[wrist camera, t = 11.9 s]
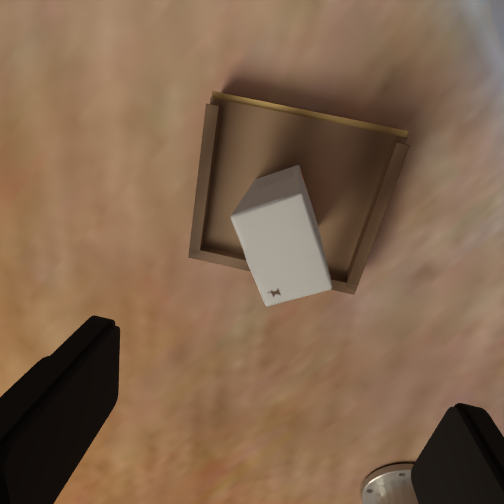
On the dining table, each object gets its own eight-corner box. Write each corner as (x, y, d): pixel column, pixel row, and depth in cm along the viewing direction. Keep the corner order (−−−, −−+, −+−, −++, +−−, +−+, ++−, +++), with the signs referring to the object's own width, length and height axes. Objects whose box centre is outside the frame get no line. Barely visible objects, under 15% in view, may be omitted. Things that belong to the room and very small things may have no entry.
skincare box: (319, 226, 29) (335, 292, 18) (275, 239, 30) (263, 310, 19) (299, 161, 27) (303, 190, 16) (252, 177, 28) (225, 216, 17)
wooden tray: (398, 129, 28) (414, 131, 24) (347, 274, 34) (354, 294, 30) (219, 93, 28) (207, 89, 24) (200, 241, 34) (188, 257, 30)
